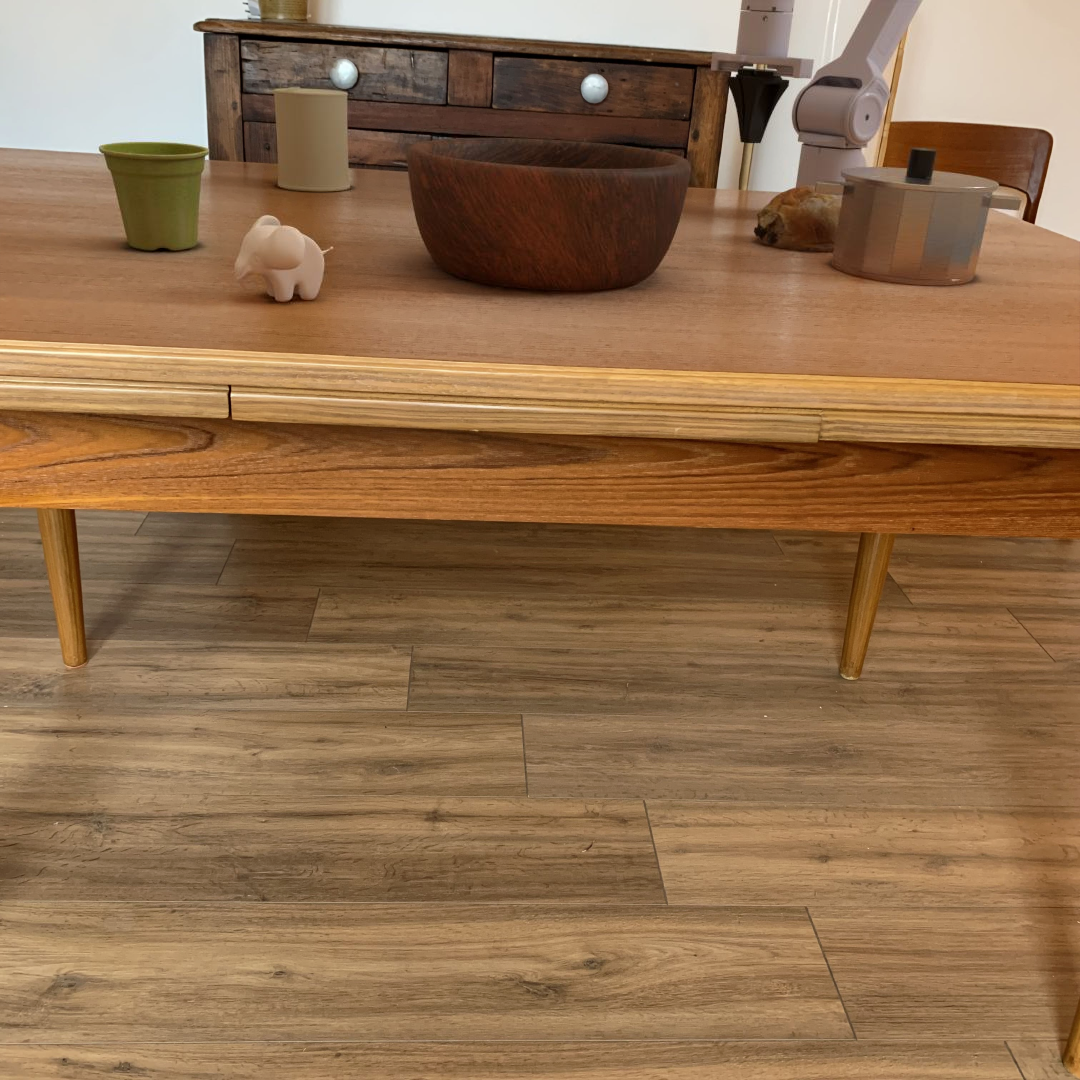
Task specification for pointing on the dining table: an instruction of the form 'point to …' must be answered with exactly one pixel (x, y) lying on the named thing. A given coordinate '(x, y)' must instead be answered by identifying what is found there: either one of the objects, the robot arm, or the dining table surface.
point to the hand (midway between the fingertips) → (750, 142)
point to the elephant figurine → (280, 260)
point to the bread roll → (800, 220)
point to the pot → (910, 232)
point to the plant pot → (157, 191)
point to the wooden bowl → (546, 210)
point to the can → (312, 139)
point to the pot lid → (920, 176)
